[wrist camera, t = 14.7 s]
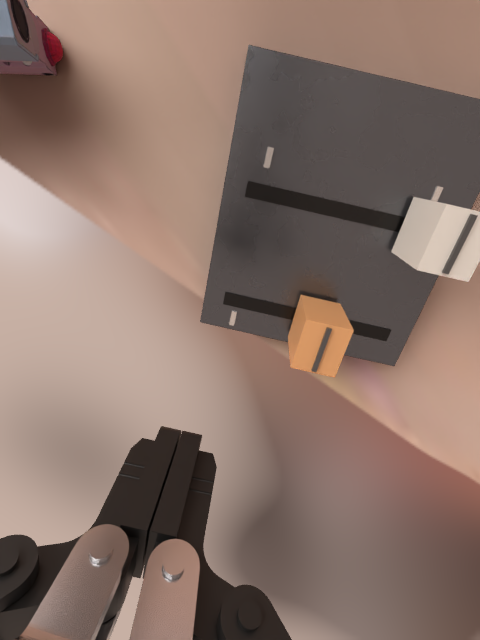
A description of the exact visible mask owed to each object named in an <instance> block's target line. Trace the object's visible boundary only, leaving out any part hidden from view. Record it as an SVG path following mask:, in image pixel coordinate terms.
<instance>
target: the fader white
mask: <svg viewBox="0 0 480 640" xmlns="http://www.w3.org/2000/svg"><path fill="white" fill-rule="evenodd" d="M391 252H392V253H393V254H395V255H396V256H398V257H399V258H400V259H402V260H403V261H405V262H406V263H407V264H409V265H410V266H412V267H413V268H414V269H416V270H418V271H423V272H427V273H431V274H436V275H440V276H444V277H449V278H453V279H457V280H462V281H466V282H469V280H470V278H471V277H472V275H473V273H474V271H475V269H476V267H477V265H478V263H479V262H480V211H475V210H471V209H467V208H462V207H458V206H454V205H449V204H445V203H440V202H436V201H431V200H426V199H422V198H417V197H413V200H412V202H411V205H410V207H409V210H408V212H407V214H406V217H405V219H404V222H403V224H402V227H401V229H400V232H399V234H398V236H397V239H396V241H395V244H394V246H393V249H392V251H391Z"/></svg>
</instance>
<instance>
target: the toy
mask: <svg viewBox="0 0 480 640" xmlns="http://www.w3.org/2000/svg"><path fill="white" fill-rule="evenodd" d="M62 56H63V48H62V45H61V42H60V41H59V39H58V38H57V37H56V36H55V35H53V34H52V33H50V32H49V31H48V27H47V26H46V25H45V24H44V23H43V22H42V20H41V19H40V18H39V17H38V16H35V15H34V14H33V13H32V12H31V10H30V9H29V7H28V4H27V1H26V0H0V73H2V74H29V75H57V73H56V68H55V65H56V62H59V61H60V60H61V59H62Z"/></svg>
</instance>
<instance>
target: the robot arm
mask: <svg viewBox="0 0 480 640" xmlns="http://www.w3.org/2000/svg"><path fill="white" fill-rule="evenodd" d="M180 436H181V437H180ZM201 438H202V435H199V434H195V433H190V432H186V431H182V434H181V430H176V429H172V428H167V427H163V426H162V427H161V428H160V430H159V433H158V435H157V437H156V439H155V441H152V440H149V439H144V438H142V439H141V440H140V441H139V442H138V443H137V444H135V446H133V447H132V448H131V450H130V452H129V454H128V456H127V458H126V460H125V462H124V465H123V466H122V468H121V471H120V472H119V475H118V476H117V478H116V481H115V483H114V485H113V487H112V489H111V491H110V493H109V495H108V497H107V499H106V501H105V503H104V505H103V507H102V509H101V512H100V514H99V516H98V518H97V519H96V521H95V523H94V524H93V525H92V527H91V528H90V529H89V530H88V531H87V532H85V533H84V534H83V535H81V536H80V537H78V538H76V539H74V540H72V541H69V542H65V543H60V544H53V545H45V546H39V547H37V545H36V543H35V542H34V541H33V540H32V539H31V538H30V537H28V536H24V535H11V536H7V537H4V538H1V539H0V640H109V639H110V636H111V634H112V631H113V629H114V626H115V624H116V621H117V619H118V616H119V614H120V611H121V608H122V605H123V603H124V600H125V597H126V594H127V591H128V588H129V585H130V582H131V579H132V576H133V577H137V578H140V577H141V574H142V571H143V568H144V573H143V579H144V580H143V584H142V589H141V592H140V597H139V601H138V605H137V609H136V614H135V618H134V622H133V627H132V631H131V635H130V639H129V640H292V639H291V638H290V636H289V634H288V632H287V631H286V629H285V627H284V625H283V623H282V622H281V620H280V618H279V616H278V615H277V613H276V611H275V609H274V607H273V606H272V604H271V602H270V601H269V599H268V597H267V596H265V594H264V593H263V592H262V591H261V590H259V589H258V588H256V587H254V586H251V585H241V586H237V587H233V586H232V585H230V584H229V583H227V582H226V581H224V580H223V579H221V578H220V577H218V576H217V575H216V574H215V573H214V572H213V571H212V570H211V569H210V567H209V566H208V564H207V562H206V559H205V556H204V551H203V542H204V535H205V530H206V524H207V519H208V513H209V507H210V502H211V495H212V490H213V484H214V479H215V473H216V463H215V460H214V456H213V454H212V453H207V452H203V451H199V447H200V442H201ZM144 565H145V566H144Z"/></svg>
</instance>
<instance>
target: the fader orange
mask: <svg viewBox="0 0 480 640" xmlns="http://www.w3.org/2000/svg"><path fill="white" fill-rule="evenodd" d="M353 331H354V330H353V328H352V326H351V324H350V322H349V320H348V318H347V316H346V314H345V312H344V310H343V308H342V306H341V304H340V303H335V302H331V301H327V300H322V299H318V298H313V297H309V296H305V295H300V299H299V302H298V305H297V308H296V312H295V315H294V318H293V321H292V325H291V328H290V331H289V334H288V345H289V356H290V366H291V368H295V369H299V370H303V371H308V372H312V373H317V374H321V375H325V376H330V377H334V378H335V376H336V373H337V371H338V368H339V366H340V363H341V361H342V358H343V356H344V353H345V351H346V349H347V346H348V344H349V341H350V339H351V336H352V334H353Z"/></svg>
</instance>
